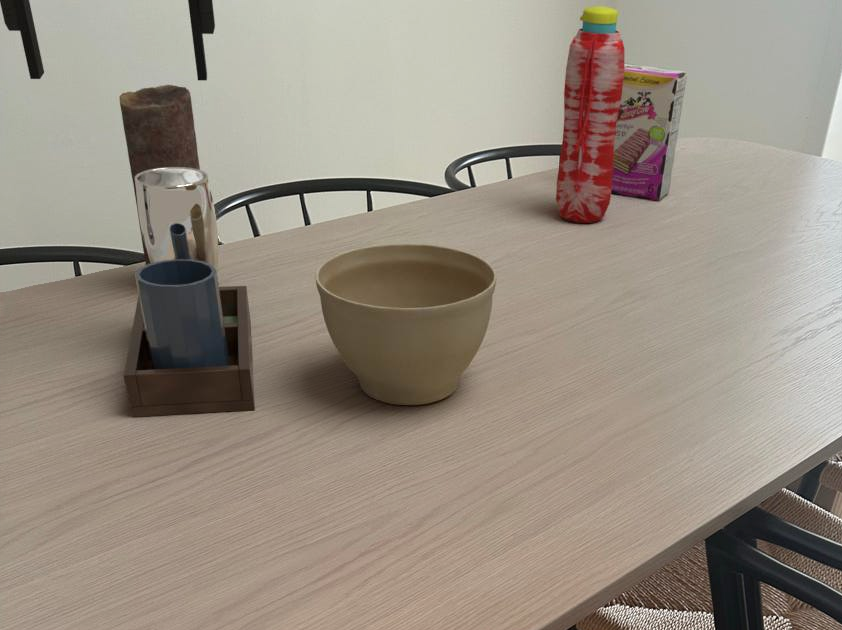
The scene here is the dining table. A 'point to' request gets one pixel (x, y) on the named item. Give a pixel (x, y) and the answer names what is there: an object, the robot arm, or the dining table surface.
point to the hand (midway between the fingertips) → (121, 77)
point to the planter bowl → (406, 316)
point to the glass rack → (195, 369)
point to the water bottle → (590, 117)
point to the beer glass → (177, 214)
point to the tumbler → (182, 314)
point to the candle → (159, 131)
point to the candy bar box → (647, 131)
